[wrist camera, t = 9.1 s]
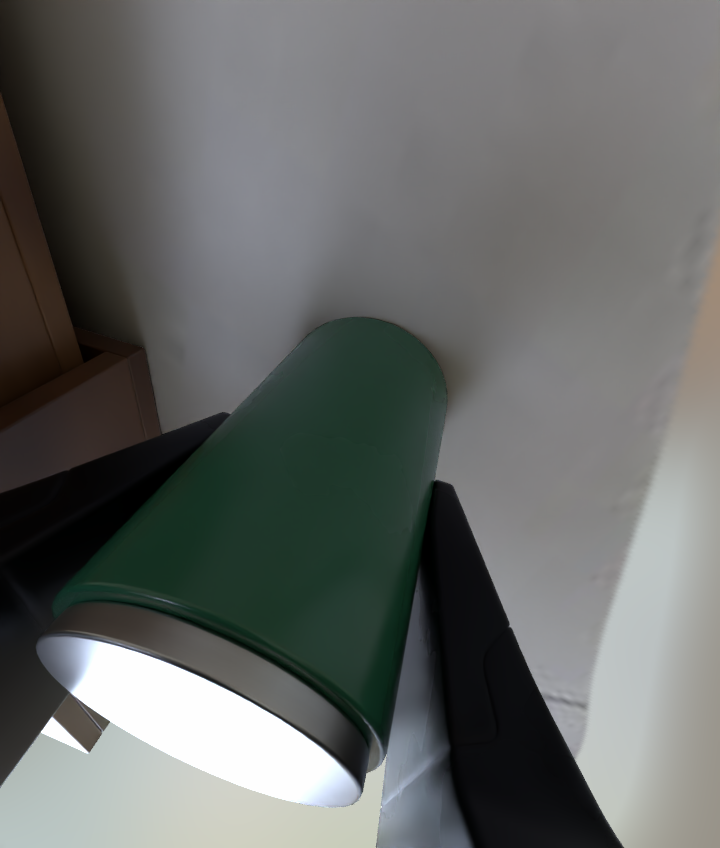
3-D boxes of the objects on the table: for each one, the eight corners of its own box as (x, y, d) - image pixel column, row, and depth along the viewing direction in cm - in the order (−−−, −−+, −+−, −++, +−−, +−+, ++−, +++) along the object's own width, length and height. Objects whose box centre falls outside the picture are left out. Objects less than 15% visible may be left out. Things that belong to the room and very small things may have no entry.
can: (272, 411, 13) (40, 694, 6) (322, 282, 10) (-18, 557, 3) (398, 480, 13) (301, 822, 7) (483, 373, 10) (466, 802, 4)
